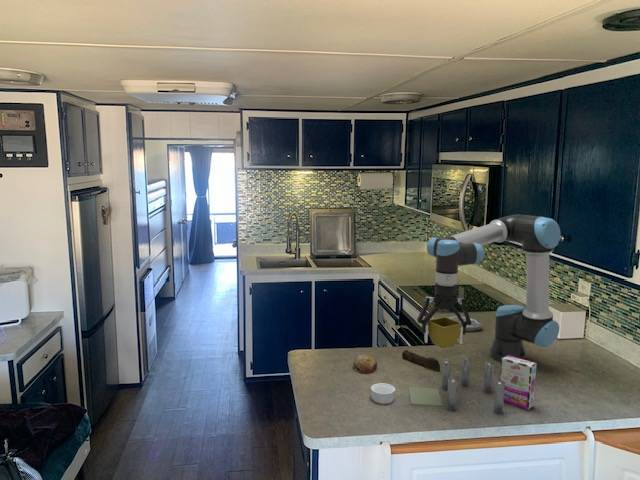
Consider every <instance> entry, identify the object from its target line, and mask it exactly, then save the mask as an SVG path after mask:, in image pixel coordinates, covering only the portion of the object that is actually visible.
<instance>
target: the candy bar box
mask: <svg viewBox="0 0 640 480" xmlns="http://www.w3.org/2000/svg"><path fill="white" fill-rule="evenodd" d="M537 365H538V363H537V362H535V361H530V360H523V359H520V358H516V357H513V356H509V355H507V356H505V357H503V358H502V361H500V377H499V378H500V379H499V380H502V381H504V382H505V389H504V403H506V404H508V405H512V406H515V407H517V408H520V409H524V410H526V411H529V410H530V409H532V408H533V407H534V406H535V395H536V393H535V391H536V381H537V367H538V366H537Z"/></svg>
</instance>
